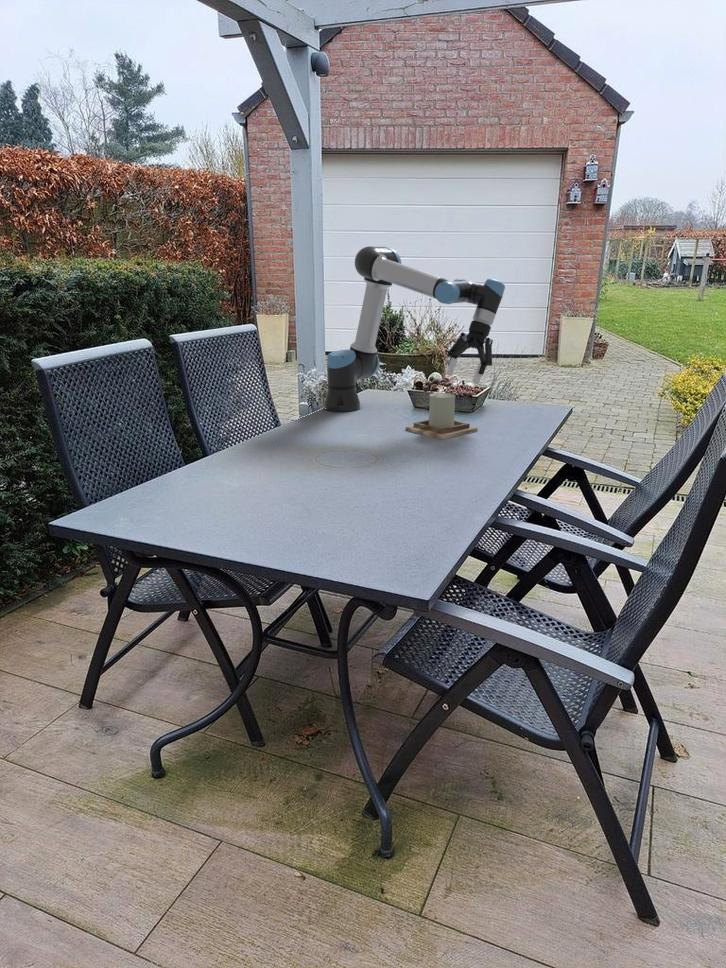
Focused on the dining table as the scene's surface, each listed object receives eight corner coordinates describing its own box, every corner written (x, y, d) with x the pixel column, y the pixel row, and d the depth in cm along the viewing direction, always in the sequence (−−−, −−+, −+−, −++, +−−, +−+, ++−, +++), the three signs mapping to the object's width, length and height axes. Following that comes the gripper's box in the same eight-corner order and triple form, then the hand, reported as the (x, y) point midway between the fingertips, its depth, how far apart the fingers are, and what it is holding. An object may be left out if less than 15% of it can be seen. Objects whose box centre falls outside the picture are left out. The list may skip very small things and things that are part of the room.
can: (423, 425, 230) (424, 392, 226) (445, 423, 233) (446, 390, 230) (436, 431, 222) (438, 397, 218) (459, 428, 225) (460, 394, 222)
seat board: (405, 430, 229) (405, 422, 228) (440, 422, 240) (440, 415, 239) (442, 439, 216) (442, 431, 215) (477, 431, 227) (477, 423, 226)
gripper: (514, 331, 227) (493, 388, 230) (463, 321, 245) (444, 374, 248) (502, 324, 222) (481, 383, 224) (450, 315, 239) (431, 369, 242)
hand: (461, 379), depth 236 cm, fingers open, 13 cm apart
